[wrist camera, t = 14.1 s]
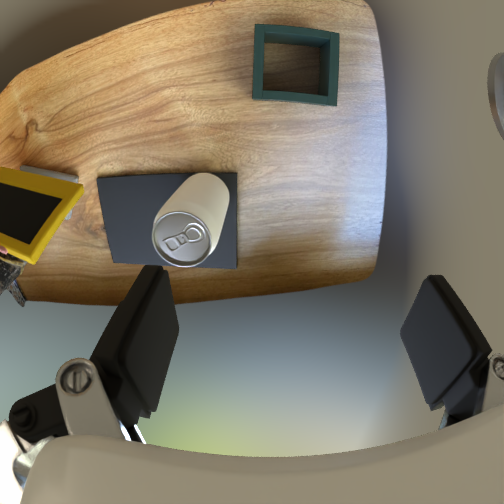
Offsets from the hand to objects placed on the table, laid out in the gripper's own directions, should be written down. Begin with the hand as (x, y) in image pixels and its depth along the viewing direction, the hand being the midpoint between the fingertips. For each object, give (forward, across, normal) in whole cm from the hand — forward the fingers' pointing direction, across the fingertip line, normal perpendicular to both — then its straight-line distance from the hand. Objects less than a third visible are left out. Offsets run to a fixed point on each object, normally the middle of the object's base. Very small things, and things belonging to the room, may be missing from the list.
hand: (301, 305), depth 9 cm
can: (+26, +9, +5) cm, 28 cm away
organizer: (+26, -2, -11) cm, 29 cm away
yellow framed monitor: (+26, +36, +3) cm, 44 cm away
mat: (+26, +14, +9) cm, 31 cm away
